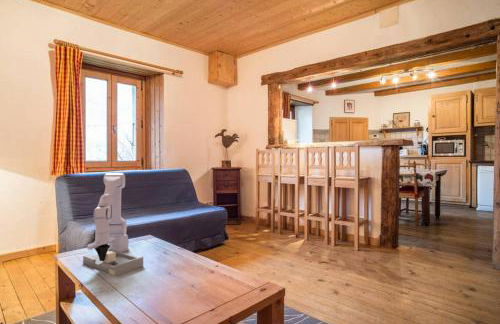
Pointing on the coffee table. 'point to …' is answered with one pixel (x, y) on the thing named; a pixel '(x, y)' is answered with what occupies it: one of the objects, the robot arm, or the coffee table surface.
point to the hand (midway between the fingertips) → (102, 260)
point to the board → (115, 263)
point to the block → (110, 257)
